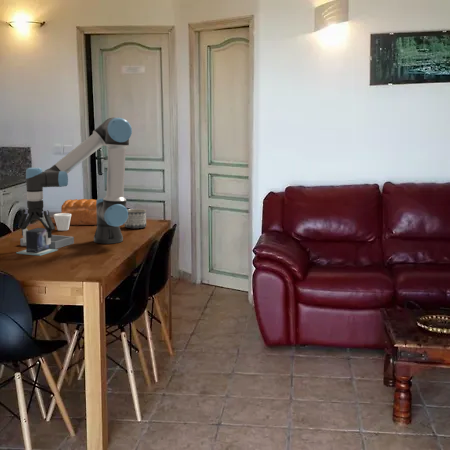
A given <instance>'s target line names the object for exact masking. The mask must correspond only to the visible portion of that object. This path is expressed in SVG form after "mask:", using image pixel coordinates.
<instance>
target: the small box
mask: <svg viewBox="0 0 450 450" xmlns="http://www.w3.org/2000/svg"><path fill="white" fill-rule="evenodd" d="M46 231H47V230H46V229H45V227H37V228H32V229H28V231H26V246H25V247H26V248H25V250H26V252H32V253H38V252H41V251H44V250H47V249H50V248H49V245H46Z"/></svg>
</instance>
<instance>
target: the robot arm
mask: <svg viewBox="0 0 450 450" xmlns="http://www.w3.org/2000/svg"><path fill="white" fill-rule="evenodd" d="M132 128H133V127H132V125H131V124H130V122H129V121H128V120H126V119H125V118H122V117H109V118H107V119H105V121H103V122H102V123H101V124H100V125H98V127H96V128H95V129H93V131H92V134H91V135H90V136H88V137H86V139H85V140H83V141H82V142H81V143H80V144H78V145H77V146H75V148H74V149H72V150H71V151H70V152H68V153H67V154H66V155H65V156H64V157H61V159H59V160H58V161H57V162H56V163H55V164H53V165H52V166H51V167H50V168H47V169H45V170H44V171H43V169H42V167H28V168H26V170H25V185H26V187H25V188H26V200H27V201H26V204H27V208H24V209H22V214H21V217H20V220H19V222H18V225H17V228H19V229H21V235H22V238H23V243H26V231H28V230H29V229H28V228H27V227H28V226H29V224H30V223H31V222H32V220H38V221H40V223H41V224H42V226H43V228H45V229H46V230H47V231H46V245H49V244H51V237H52V235H53V233H52V231H54V230H56V228H55V225H54V223H53V220H52V217H51V216H50V211H49V210H48V209H47V210H44V200H43V199H44V188H62V187H67V186H68V185H69V175H68V174H69V173H70V172H71V171H73V170H74V169H75V168H76V167H78V166H79V165H80V164H81V163H82V162H84V161H85V160H87V158H89V157H90V156H91V155H92V154H94V153H95V152H97V151H98V150H99V149H100V148H102V146H103V147H105V146H106V147H107V151H108V152H107V170H106V171H107V172H106V175H107V176H106V194H105V196H104V197H103V198H97V199H96V200H97V201H96V213H97V225H96V229H95V233H94V235H93V242H94V243H95V244H103V245H104V244H105V245H106V244H108V245H109V244H111V245H112V244H118V243H121V242H123V240H124V236H123V233H122V230H121V227H120V226H123V225H125V222H126V221H127V219H128V211H127V210H128V208H127V199H126V197H125V196H124V195H125V193H124V192H125V168H126V150H127V148H128V147H129V146H130V145H129V144H130V138H131V136H132V133H133V130H132Z"/></svg>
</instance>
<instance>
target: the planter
mask: <svg viewBox="0 0 450 450" xmlns="http://www.w3.org/2000/svg"><path fill="white" fill-rule="evenodd" d="M127 211H128V219H127V221H126V222H125V223H124V227H125V228H128V229H129V228H130V229H131V230H140V229H139V228H141V229H143V228H146V227H147V210H146V209H141V208H132V209H131V208H130V209H127Z"/></svg>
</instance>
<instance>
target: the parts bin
mask: <svg viewBox="0 0 450 450" xmlns="http://www.w3.org/2000/svg"><path fill="white" fill-rule="evenodd" d="M19 240H20V245H19V246H20V247H26V243H23V237H22V238H20V239H19ZM73 244H75V237H74V236H68V235H67V236H66V235H59V234H58V235H57V234H52V237H51V244H49V249H61V248H62V247H63V248H64V247H66V246H71V245H73Z"/></svg>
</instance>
